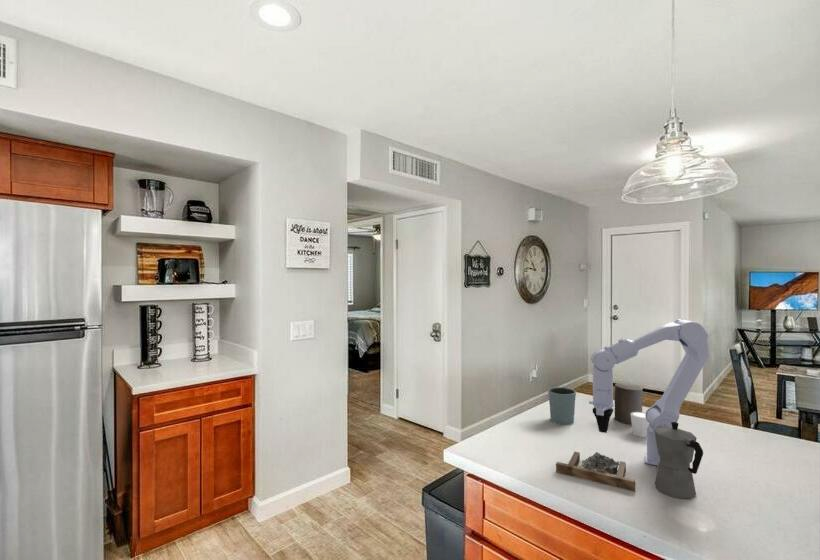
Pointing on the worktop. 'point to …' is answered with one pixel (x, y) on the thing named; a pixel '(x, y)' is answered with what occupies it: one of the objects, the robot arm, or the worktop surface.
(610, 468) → the egg carton
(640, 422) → the shot glass
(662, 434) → the coffeepot
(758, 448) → the worktop surface
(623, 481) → the walnut bracket
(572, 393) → the teal grey cup
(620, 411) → the pillar candle
